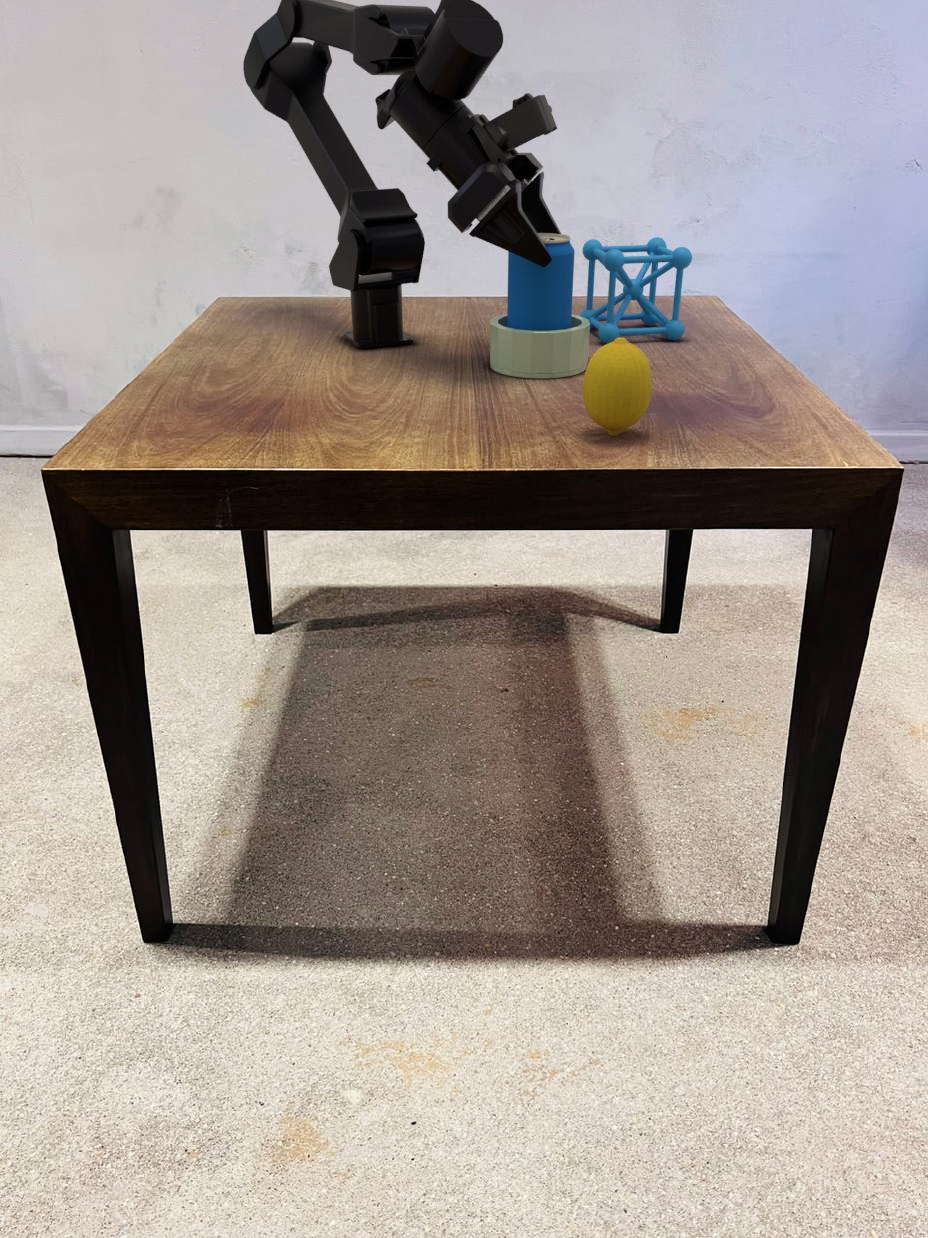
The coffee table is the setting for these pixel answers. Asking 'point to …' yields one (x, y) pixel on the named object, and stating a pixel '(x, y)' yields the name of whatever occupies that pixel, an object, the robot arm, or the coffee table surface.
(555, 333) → the collar
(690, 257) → the molecular structure
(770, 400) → the coffee table surface
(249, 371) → the coffee table surface
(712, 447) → the coffee table surface
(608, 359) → the lemon
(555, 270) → the beverage can
